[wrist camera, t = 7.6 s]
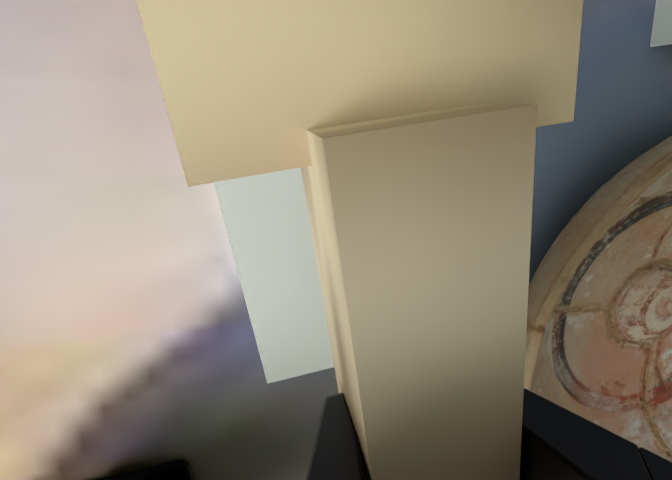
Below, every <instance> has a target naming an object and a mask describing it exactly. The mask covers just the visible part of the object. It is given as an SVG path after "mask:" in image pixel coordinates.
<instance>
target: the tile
mask: <svg viewBox="0 0 672 480" xmlns="http://www.w3.org/2000/svg"><path fill="white" fill-rule="evenodd" d="M670 44H672V0H656V5H655V13H654V20H653V28H652V35H651V43H650V47H656V46H663V45H670Z"/></svg>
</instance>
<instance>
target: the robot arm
mask: <svg viewBox="0 0 672 480" xmlns="http://www.w3.org/2000/svg"><path fill="white" fill-rule="evenodd" d="M106 480H195V477H194V475H193V472H192V469H191V467H190V464H189V463H188V462H187V461H184V460H178V461H174V462H170V463H166V464H162V465H159V466H155V467H151V468H147V469H143V470H140V471H136V472H132V473H128V474H125V475H121V476H117V477H113V478H109V479H106ZM306 480H366V479H365V473H364V466H363V460H362V453H361V447H360V442H359V438H358V435H357V432H356V429H355V426H354V423H353V420H352V417H351V414H350V411H349V408H348V405H347V402H346V399H345V396H344V394H343V393H342V392H341V393H337V394H333V395H329V396H327V397H326V398H325V401H324V406H323V410H322V414H321V418H320V422H319V427H318V431H317V435H316V439H315V444H314V448H313V452H312V456H311V460H310V465H309V469H308V473H307V477H306ZM519 480H672V462H671V461H669V460H667V459H665V458H663V457H661V456H659V455H657V454H655V453H653V452H651V451H649V450H647V449H645V448H643V447H640V448H638V446H637V445H636V444H634V443H632V442H631V441H629V440H627V439H625V438H623V437H621V436H619V435H617V434H615V433H613V432H611V431H609V430H607V429H605V428H603V427H601V426H599V425H597V424H595V423H593V422H591V421H589V420H587V419H585V418H583V417H581V416H579V415H577V414H575V413H573V412H571V411H569V410H567V409H565V408H563V407H561V406H559V405H557V404H555V403H553V402H551V401H549V400H547V399H545V398H543V397H541V396H539V395H537V394H535V393H533V392H531V391H529V390H527V389H525V388H524V394H523V415H522V436H521V457H520V478H519Z"/></svg>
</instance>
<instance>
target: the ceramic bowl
mask: <svg viewBox="0 0 672 480" xmlns="http://www.w3.org/2000/svg"><path fill="white" fill-rule="evenodd" d="M524 388H525V389H527V390H529V391H531V392H533V393H535V394H537V395H539V396H541V397H543V398H545V399H547V400H549V401H551V402H553V403H555V404H557V405H559V406H561V407H563V408H565V409H567V410H569V411H571V412H573V413H575V414H577V415H579V416H581V417H583V418H585V419H587V420H589V421H591V422H593V423H595V424H597V425H599V426H601V427H603V428H605V429H607V430H609V431H611V432H613V433H615V434H617V435H619V436H621V437H623V438H625V439H627V440H629V441H631V442H632V443H634V444H636V445H637V446H638V448H640V447H643V448H645V449H647V450H649V451H651V452H653V453H655V454H657V455H659V456H661V457H663V458H665V459H667V460H669V461H671V462H672V136H670V137H669V138H667V139H665V140H664V141H662V142H660V143H659V144H657V145H656V146H654V147H653V148H651V149H650V150H648V151H646V152H645V153H643V154H642V155H640V156H639V157H637V158H636V159H634V160H633V161H632V162H630V163H629V164H628V165H626V166H625V167H624V168H623V169H621V170H620V171H619V172H618V173H617V174H615V175H614V176H613V177H612V178H611V179H609V180H608V181H607V182H606V183H605V184H603V185H602V186H601V187H600V188H599V189H598V190H597V191H596V192H595V193H594V194H593V195H592V196H591V197H590V198H589V199H588V200H587V202H586V203H585V204H584V205H583V206H582V207H581V208H580V209H579V210H578V212H577V213H576V214H575V215H574V216H573V217H572V219H571V220H570V221H569V222H568V224H567V225H566V226H565V227H564V229H563V230H562V231H561V233H560V234H559V235H558V237H557V238H556V239H555V241H554V242H553V244H552V246H551V247H550V249H549V250H548V252H547V253H546V255H545V256H544V258H543V260H542V261H541V263H540V265H539V266H538V268H537V270H536V272H535V274H534V276H533V278H532V280H531V282H530V285H529V290H528V310H527V331H526V352H525V373H524Z"/></svg>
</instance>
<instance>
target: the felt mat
mask: <svg viewBox="0 0 672 480" xmlns="http://www.w3.org/2000/svg"><path fill="white" fill-rule="evenodd" d="M214 184H215V188H216V192H217V195H218V199H219V203H220V207H221V210H222V214H223V218H224V222H225V226H226V229H227V233H228V237H229V241H230V244H231V248H232V252H233V256H234V260H235V263H236V267H237V271H238V275H239V278H240V282H241V286H242V290H243V294H244V297H245V301H246V305H247V309H248V312H249V316H250V320H251V324H252V327H253V331H254V335H255V339H256V343H257V346H258V350H259V354H260V358H261V361H262V365H263V369H264V373H265V377H266V380H267V384H268V383H272V382H276V381H280V380H285V379H289V378H293V377H297V376H301V375H305V374H309V373H313V372H317V371H321V370H325V369H329V368H333V367H334V362H333V356H332V350H331V344H330V338H329V332H328V326H327V320H326V314H325V308H324V303H323V297H322V291H321V285H320V279H319V273H318V267H317V261H316V255H315V249H314V243H313V237H312V231H311V225H310V219H309V214H308V208H307V202H306V196H305V190H304V184H303V178H302V172H301V167H300V168H294V169H289V170H283V171H277V172H271V173H265V174H259V175H253V176H247V177H242V178H236V179H230V180H224V181H218V182H214Z"/></svg>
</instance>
